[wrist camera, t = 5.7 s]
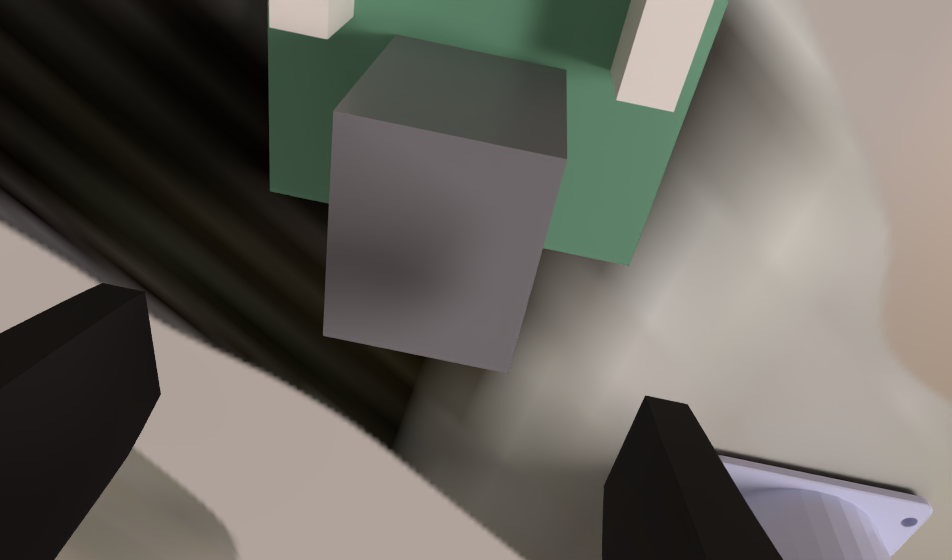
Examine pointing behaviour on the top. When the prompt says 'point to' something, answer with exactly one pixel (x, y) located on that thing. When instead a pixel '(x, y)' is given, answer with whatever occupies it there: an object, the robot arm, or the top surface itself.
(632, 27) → the board
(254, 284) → the top surface
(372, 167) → the plug block
